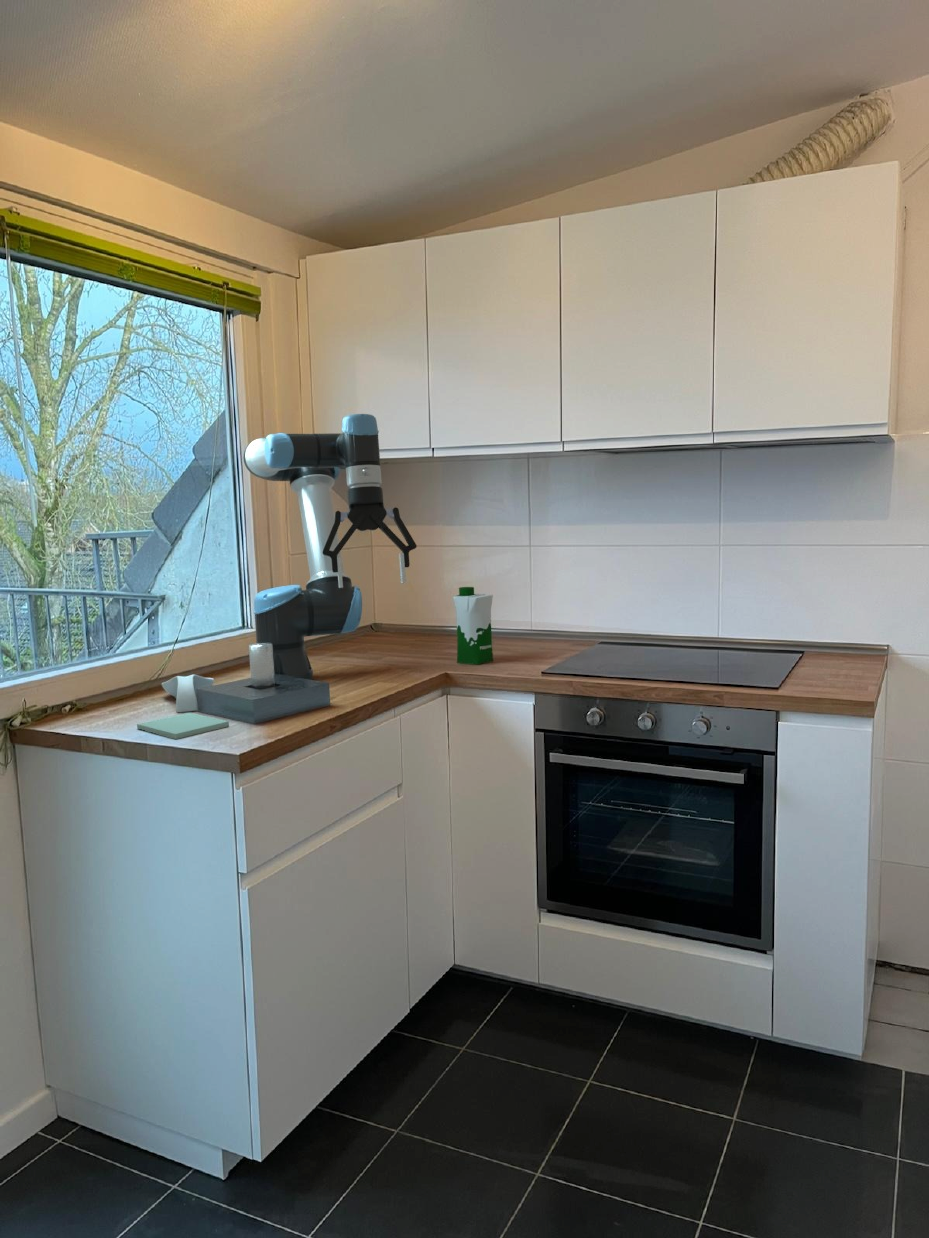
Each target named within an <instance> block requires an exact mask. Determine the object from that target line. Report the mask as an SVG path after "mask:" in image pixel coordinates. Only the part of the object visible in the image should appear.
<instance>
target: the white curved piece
mask: <svg viewBox="0 0 929 1238" xmlns="http://www.w3.org/2000/svg"><path fill="white" fill-rule="evenodd" d="M214 682H215V678H212V677H204V676H202V675H198V674H190V675H186V676H181V675H177V676H174V677H172V678H170V679H169V680H166V681H163V682H162V683H161V687H162V688H163V689H164V690H165V692H166V693H168V694H169V695H170V696H172V697H173V698H175V699H176V700H175V712H176V713H189V712H190V713H191V712H195V711H197V712H198V699H197V689H198V688H203V687H208V686H213V685H214Z"/></svg>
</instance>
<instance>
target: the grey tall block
mask: <svg viewBox="0 0 929 1238" xmlns="http://www.w3.org/2000/svg"><path fill="white" fill-rule="evenodd" d="M248 654H249V656H248V657H249V668H250V669H249V671H250V678H251V688H253V689H259V690H262V689H266V688H271V687H275V677H274V660H273V644H272V643H252V644H248Z"/></svg>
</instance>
